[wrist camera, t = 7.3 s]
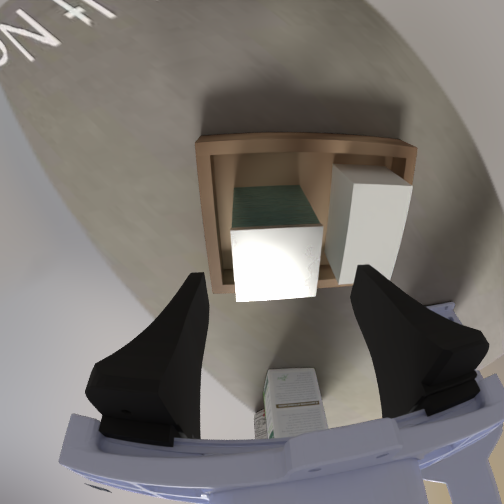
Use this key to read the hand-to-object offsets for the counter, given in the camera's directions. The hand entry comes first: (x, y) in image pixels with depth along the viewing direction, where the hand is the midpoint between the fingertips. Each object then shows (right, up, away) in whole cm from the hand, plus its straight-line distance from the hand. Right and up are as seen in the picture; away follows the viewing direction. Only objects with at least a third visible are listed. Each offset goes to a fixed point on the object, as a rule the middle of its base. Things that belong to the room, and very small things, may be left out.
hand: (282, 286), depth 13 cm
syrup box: (+3, -14, +20) cm, 24 cm away
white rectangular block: (+6, +5, +7) cm, 10 cm away
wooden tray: (+2, +5, +7) cm, 9 cm away
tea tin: (0, +4, +7) cm, 8 cm away
